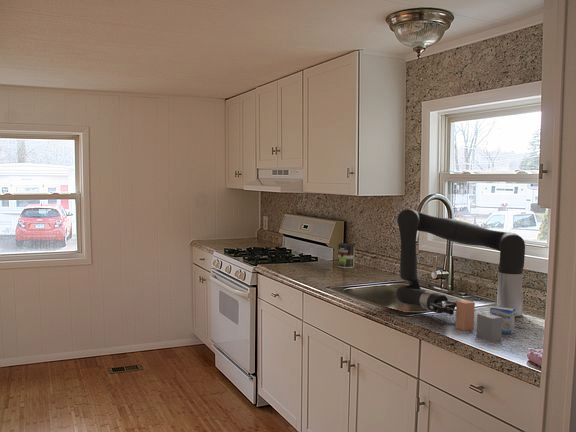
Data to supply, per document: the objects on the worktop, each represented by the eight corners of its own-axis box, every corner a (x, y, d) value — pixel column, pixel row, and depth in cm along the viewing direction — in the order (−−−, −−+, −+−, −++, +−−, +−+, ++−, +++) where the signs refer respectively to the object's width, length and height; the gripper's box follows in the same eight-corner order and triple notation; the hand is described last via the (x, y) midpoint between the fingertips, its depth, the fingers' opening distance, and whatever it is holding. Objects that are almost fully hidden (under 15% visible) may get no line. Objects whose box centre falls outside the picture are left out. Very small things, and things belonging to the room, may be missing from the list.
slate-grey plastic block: (486, 335, 195) (487, 312, 195) (501, 340, 189) (502, 317, 188) (476, 336, 193) (477, 313, 193) (491, 341, 187) (492, 318, 186)
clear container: (349, 269, 332) (349, 245, 331) (334, 267, 338) (334, 244, 337) (357, 266, 340) (358, 244, 339) (343, 265, 346) (343, 242, 345)
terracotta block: (465, 326, 206) (466, 299, 206) (473, 329, 202) (474, 302, 202) (455, 327, 204) (456, 300, 204) (464, 330, 200) (465, 303, 200)
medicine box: (488, 330, 200) (489, 307, 200) (491, 328, 204) (492, 305, 204) (511, 334, 196) (512, 310, 196) (514, 331, 200) (515, 308, 199)
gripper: (419, 293, 216) (447, 302, 201) (448, 291, 222) (477, 299, 207) (418, 312, 217) (446, 322, 202) (447, 309, 222) (476, 319, 208)
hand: (462, 311), depth 204 cm, fingers open, 8 cm apart
